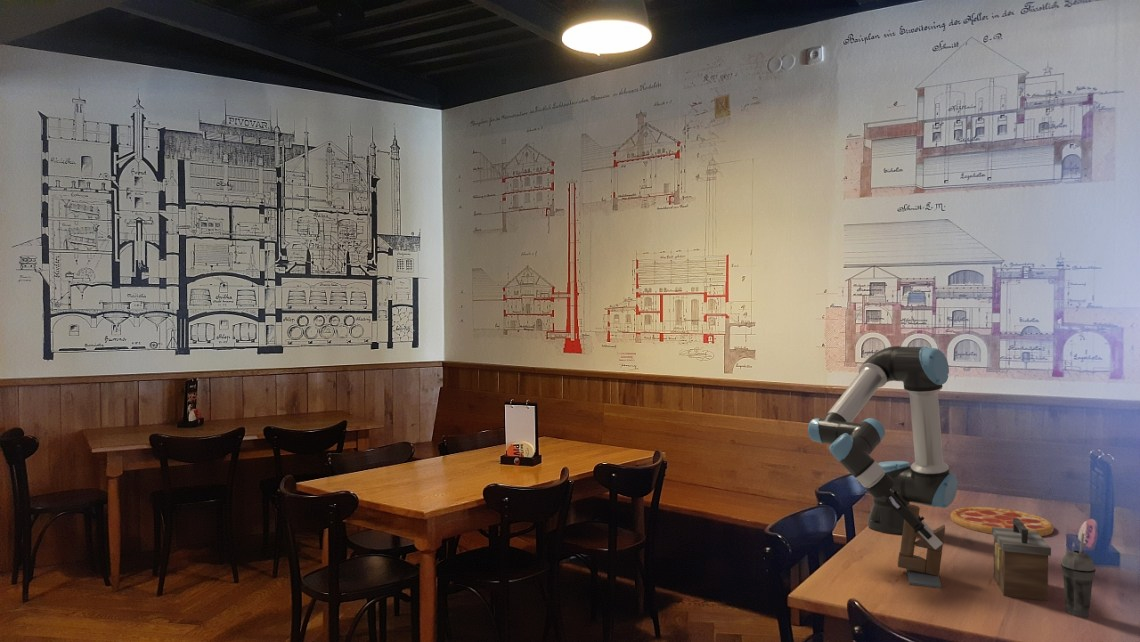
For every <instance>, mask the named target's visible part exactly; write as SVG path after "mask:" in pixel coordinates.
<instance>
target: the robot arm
mask: <svg viewBox="0 0 1140 642" xmlns="http://www.w3.org/2000/svg"><path fill="white" fill-rule="evenodd" d="M949 374H950V367H949V362H948V359H947V357H946V354H944V352H943V351H941V349H939V348H934V347H927V346H899V345H894V346H888V347H886V348H883V349H880V350H879V351H877V352H875V353H874V354H872V355H870V356H869V357H868V358H867V359H866V360H865V361H864V362H863V363H862V364H861V366H859V368H858V374H857V375H856V376H855V377H854V379H853V381H852V382H851V383H850V384H849V385H848V386H847V388H846V389H845V390H844V391H843V393H842V394H841V395H840V397H839V398H838V399H837V400H836V401H835V403H834V404H833V405H832V407H831V408H830V409H829V410H828V411H827V413H826V414H825V415H824V416H823V418H821V417H818V418H817V417H816V418H813V419H811V420H810V421H809V423H808V427H807V434H808V437H809V439H810V440H811V441H812V442H814V443H818V444H819V443H820V444H823V445H829V448H828V449H829V452H830V453H831V454H832V456H833V457H834V458H835V460H836V461H838V462H839V464H841V465H842V466H843V467H844V468H845V470H846V471H847V472H849V473H850V474H851V475H852V477H854V478H855V479H856V480H855V481H856V484H861V485H862V486H863V487H864V488H866V490H867V492H868V493H869V494H870V495H871V496H872V497H873V504H872V507H871V510H870V512H869V516H868V519H867V527H868V528H870V529H871V530H875V531H877V532H882V533H887V534H896V535H897V534H898V535H901V534H902V533H903V526H904V519H905V520H906V521H907V522H908V523H909V524H910V525H911V526H912V528H913V529H914V530H915V531H914V532H915V533H916V534H917V533H918V534H919V535H920V536H921V538H924V539H925V540H926V541H927V542H928V543H929V544H930V545H931V546H932V547H933V548H934V549H935V550H936V549H937V548H938V547H939V546H941V545H942V544H943V545H944V542H943V543H942V542H941V541H940V540H939V539H938V538H937V537H936V536H935V535H934V534H933V532H934V529H932V528H931V527H930V526H929V525H928V524H927V523H926V522H925V517H924V516H920V515H919V518H917V517H916V516H915V515H914V514H913V513H912V512H911V511H910V510H909V509H908V508H907V505H909V504H910V503H915V504H919V505H924V506H929V507H932V508H940V509H946V508H948V507H950V506H951V505H952V504H953V502H954V500H955V498H956V496H957V492H958V486H959V485H958V484H959V482H958V481H959V480H958V478H957V476H956V474H954V473H953V472H952V473H950V466H949V464H948V463H946V462H945V461H944V453H943V452H944V451H943V442H942V441H943V440H942V427H941V414H940V403H939V392H940V391H941V390H942V389H943V388H944V387H943V385H944V384H946V383H947V382H948V380H949ZM893 381H894V382H902V383H903V384H902V385H903V390H904V391H906V393H908V394H909V405H910V416H911V429H912V440H913V450H914V461H913V463H912V464H911V463H910V461H905V460H892V461H891V460H889V461H888V460H887V461H881V462H880V461H879V462H877V461H876V460H875V459H874V458H873V457H871V455H870V454H871V453H872V452H873V451H874V450H875V449H876V447H878V446H879V445H880V444H881V442H882V440H883V439H884V437H885V435H886V429H885V427H884V425H883V423H882V422H880V421H879V420H877V419H876V418H872V417H868V418H865V419H863V420H862V421H861V422H860V423H858V422H853V421H855V419H856V418H857V416H858V415H859V413H860V412H861V411H862V409H863V408H864V407H865V406H866V405H867V404H868V402H869V401H870V400H871V398H872V397H873V395H874V394H875V393H876V391H877V390H879V388H883V387H884V386H885V385H886V384H887V383H888V382H893ZM910 505H911V504H910Z"/></svg>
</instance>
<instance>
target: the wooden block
mask: <svg viewBox="0 0 1140 642" xmlns="http://www.w3.org/2000/svg"><path fill="white" fill-rule="evenodd" d="M907 508H908V509H909V510H910V511H911V512H912V513H913V514H914V515H915V516H916V517H917V518H919V516H920V509H921V508H920V507H919V506H918V505H915V504H909V505H907ZM945 525H946V524H942V525H940V526H939V527H937V528H935V529H933V531H934V532H933V534H934V535H935V536H936V537H937V538H938V539H939V540H940V541H941V542H942V543H943V544H942V545H941V546H939V547H938V548H937V549H936V550H935V549H934V548H933V547H932V546H931V545H930V544H929V543H928V542H927V541H926V540H925V539H924V538H923V537H921V538H919V539H918V540H916V538H917V533H915V532H914V531H915V530H914V529H913V528H912V526H911V525H910V524H909V523H908V522H907V521H906V520H905V519H904V526H903V533H902V535H901V541H900V550H899V552H898V559H897V567H898V568H900V569H905V570H906V569H909V570H913V571H918V572H922V573H926V574H930V575H935V576H938V577H939V576H940V570H941V563H942V562H941V561H942V554H943V547H944V540H945V532H946V526H945ZM916 547H918V548H923V549H927V550H926V556H925V558H924V557H922V556H919V555H916V554H915V548H916Z"/></svg>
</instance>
